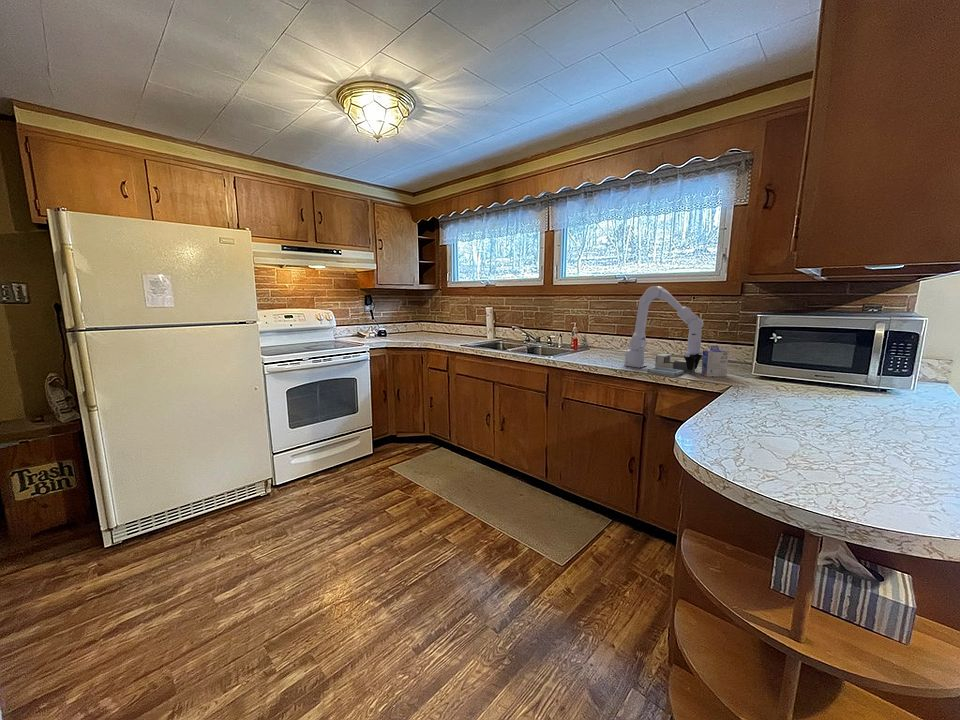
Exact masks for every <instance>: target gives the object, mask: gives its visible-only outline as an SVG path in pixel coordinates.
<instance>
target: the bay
mask: <svg viewBox="0 0 960 720" xmlns="http://www.w3.org/2000/svg"><path fill="white" fill-rule="evenodd" d="M672 356H673V354H672V353H660V354H655V363H654V367H663V368H670V369H673V367H674V361H672V360H671V359H672Z"/></svg>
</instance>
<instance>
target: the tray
mask: <svg viewBox="0 0 960 720" xmlns="http://www.w3.org/2000/svg"><path fill="white" fill-rule="evenodd" d="M646 372H647V373H649V372H651V373H650V374H655V373H657V374H658V375H662V374H663V376H670V377H675V378H676V377H678V376H681V374H682V375H684V374H685V372H684V370H677V369H670V368H663V367H655V366H652V367H649V368H647V369H646Z"/></svg>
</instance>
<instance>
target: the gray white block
mask: <svg viewBox="0 0 960 720" xmlns="http://www.w3.org/2000/svg"><path fill="white" fill-rule="evenodd" d="M673 362H674V367H673V369H677V370H684V373H687V372H689V373H688V374H693V373H692V372H694V373H695V372H696V369H695V365H696V362H694V366H693V370H688V369H687V364H686V360H682V359H677V360H673Z"/></svg>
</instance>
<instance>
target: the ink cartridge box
mask: <svg viewBox="0 0 960 720" xmlns="http://www.w3.org/2000/svg"><path fill="white" fill-rule="evenodd" d="M702 352H703V353H702V358H701V374H702V375H701V374H700V375H701V376H703V375H704V377H706V376H707V377H708V378H710V377H712V376H713V377H727V374H728V365H729V364H728V362H729V351H727V350H725V349H720V347H719V345H710V350H702Z"/></svg>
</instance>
